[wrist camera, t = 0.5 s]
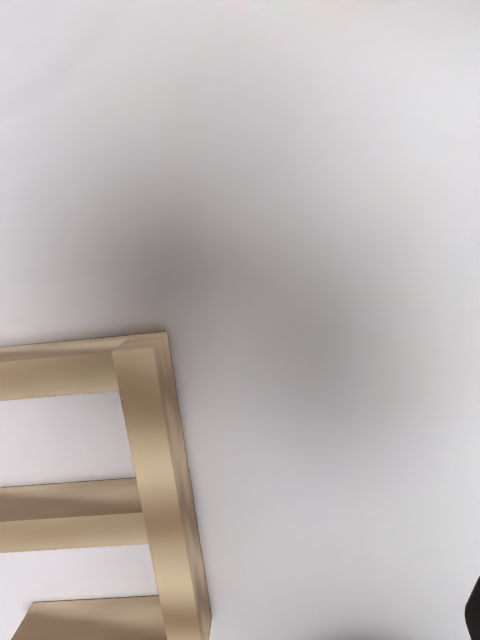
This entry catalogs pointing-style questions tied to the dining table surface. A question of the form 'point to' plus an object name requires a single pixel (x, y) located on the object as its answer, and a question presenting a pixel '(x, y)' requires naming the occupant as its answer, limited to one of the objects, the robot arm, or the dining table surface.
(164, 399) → the comb rack
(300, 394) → the dining table surface
